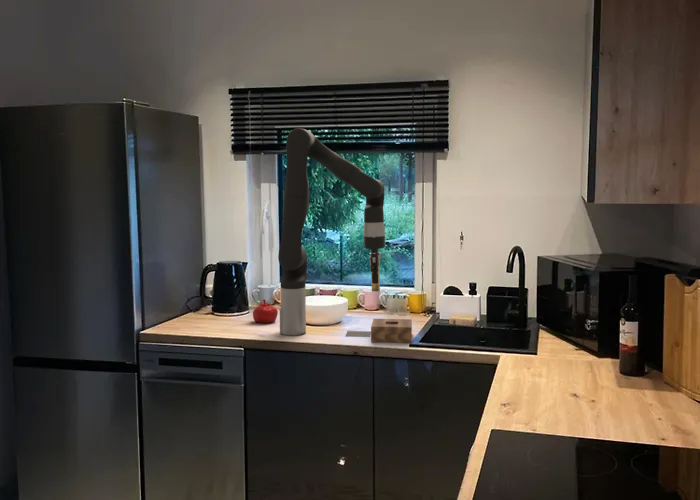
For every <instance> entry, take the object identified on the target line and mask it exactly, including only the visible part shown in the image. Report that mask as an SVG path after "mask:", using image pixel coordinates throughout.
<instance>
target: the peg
mask: <svg viewBox="0 0 700 500" xmlns="http://www.w3.org/2000/svg"><path fill="white" fill-rule="evenodd" d="M379 267H380V266H379ZM379 267H378V270H379V272H378V283H377V284H373V283H372V272H371V271H370V274H371V275H370V277H371V278H370V280H371V281H370V282H371V284H370V285H371V292H372V293H373V292H375V293H376V292H378V293H379V292H381V282H380V281H381V280H380V279H381V278H380V276H381V275H380V268H379ZM373 269H377V267H373Z"/></svg>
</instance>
